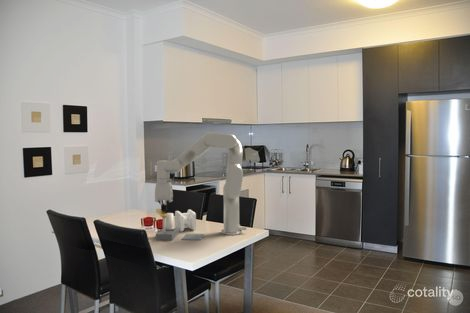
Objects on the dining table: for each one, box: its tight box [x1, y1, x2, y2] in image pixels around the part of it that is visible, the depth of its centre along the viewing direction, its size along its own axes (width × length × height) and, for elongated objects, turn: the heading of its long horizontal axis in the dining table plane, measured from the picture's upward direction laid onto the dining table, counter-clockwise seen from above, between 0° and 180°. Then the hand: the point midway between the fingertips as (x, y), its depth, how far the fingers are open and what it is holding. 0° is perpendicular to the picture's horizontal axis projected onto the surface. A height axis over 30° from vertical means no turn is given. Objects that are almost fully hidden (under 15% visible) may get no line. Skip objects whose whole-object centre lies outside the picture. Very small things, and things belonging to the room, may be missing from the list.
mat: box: [180, 233, 205, 241], centre depth 221 cm, size 11×12×1 cm
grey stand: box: [155, 217, 180, 241], centre depth 222 cm, size 9×16×13 cm, turn 174°
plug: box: [165, 212, 176, 231], centre depth 225 cm, size 6×6×13 cm
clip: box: [155, 208, 167, 218], centre depth 221 cm, size 3×18×2 cm, turn 23°
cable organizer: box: [174, 209, 197, 233], centre depth 239 cm, size 15×11×12 cm
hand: (164, 211), depth 227 cm, fingers closed
